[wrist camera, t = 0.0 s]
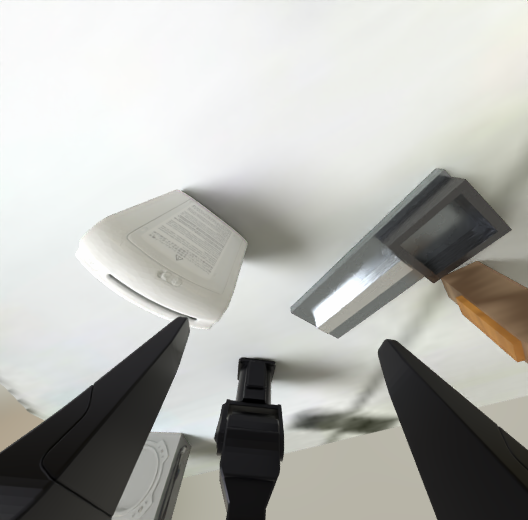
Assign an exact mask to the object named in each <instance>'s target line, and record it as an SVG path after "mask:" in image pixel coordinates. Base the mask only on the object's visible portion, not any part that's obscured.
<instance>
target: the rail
mask: <svg viewBox="0 0 528 520" xmlns="http://www.w3.org/2000/svg"><path fill="white" fill-rule="evenodd" d="M511 230H512V229H511V228H510V227H509V226H508V225H507V224H506V223H505V222H504V221H503V219H502V218H501V217H500V216H499V215H498V214H497V213H496V212H495V211H494V210H493V209H492V207H491V206H490V205H489V204H488V203H487V202H486V201H485V200H484V199H483V198H482V197H481V195H480V194H479V193H478V192H477V191H476V190H475V189H474V188H473V187H472V186H471V185H470V183H469V182H468V181H467V180H466V179H461V178H454V177H451V176H450V175H449V174H448V173H447V172H446V171H445V170H444V169H435V170H434V171H433V172H432V173H431V174H430V175H429V176H428V177H427V178H426V179H425V180H424V181H422V182H421V183H420V184H419V185H418V186H417V187H416V188H415V189H414V190H413V191H412V192H411V193H410V194H409V195H408V196H407V197H406V198H405V199H404V200H403V201H402V202H401V203H399V204H398V205H397V206H396V207H395V208H394V209H393V210H392V211H391V212H390V213H389V214H388V215H387V216H386V217H385V218H384V219H383V220H382V221H381V222H380V223H379V224H377V225H376V226H375V227H374V228H373V229H372V230H371V231H370V232H369V233H368V234H367V235H366V236H365V237H364V238H363V239H362V240H361V241H360V242H359V243H358V244H357V245H356V246H354V247H353V248H352V249H351V250H350V251H349V252H348V253H347V254H346V255H345V256H344V257H343V258H342V259H341V260H340V261H339V262H338V263H337V264H336V265H335V266H334V267H333V268H331V269H330V270H329V271H328V272H327V273H326V274H325V275H324V276H323V277H322V278H321V279H320V280H319V281H318V282H317V283H316V284H315V285H314V286H313V287H312V288H311V289H310V290H308V291H307V292H306V293H305V294H304V295H303V296H302V297H301V298H300V299H299V300H298V301H297V302H296V303H295V304H294V305H293V306H292V307H291V313H292V314H294V315H296V316H298V317H300V318H302V319H303V320H305V321H307V322H309V323H311V324H312V325H314V326H316V327H317V328H318V329H320V330H322V331H324V332H325V333H327V334H331V335H332V336H334V337H336V338H340V337H341V336H342V335H344V334H345V333H347V332H348V331H349V330H351V329H352V328H354V327H355V326H356V325H358V324H359V323H360V322H362V321H363V320H365V319H366V318H367V317H369V316H370V315H372V314H373V313H374V312H376V311H377V310H379V309H380V308H381V307H383V306H384V305H386V304H387V303H388V302H390V301H391V300H392V299H394V298H395V297H397V296H398V295H399V294H401V293H402V292H404V291H405V290H406V289H408V288H409V287H411V286H412V285H413V284H415V283H416V282H417V281H419V280H420V279H422V278H423V277H424V276H425V277H426V278H427V279H429V280H430V281H431V282H432V283H435V282H437V281H438V280H439V279H441V278H442V277H444V276H445V275H447V274H448V273H450V272H451V271H453V270H454V269H455V268H457V267H458V266H460V265H461V264H463V263H464V262H466V261H467V260H469V259H470V258H471V257H473V256H474V255H476V254H477V253H479V252H480V251H482V250H483V249H485V248H486V247H488V246H489V245H490V244H492V243H493V242H495V241H496V240H498V239H499V238H501V237H502V236H504V235H505V234H506V233H508V232H509V231H511Z"/></svg>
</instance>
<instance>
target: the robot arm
mask: <svg viewBox="0 0 528 520" xmlns="http://www.w3.org/2000/svg"><path fill="white" fill-rule="evenodd" d="M189 333H190V327H189V319H188V318H187V317H181V316H179V317H177V318H176V319H174V320H173V321H172V322H171V323H169V324H168V325H167V326H166V327H164V328H163V329H162V330H161V331H159V332H158V333H157V334H156V335H154V336H153V337H152V338H151V339H149V340H148V341H147V342H145V343H144V344H143V345H142V346H140V347H139V348H138V349H137V350H135V351H134V352H133V353H132V354H130V355H129V356H128V357H127V358H125V359H124V360H123V361H122V362H120V363H119V364H118V365H116V366H115V367H114V368H113V369H111V370H110V371H109V372H108V373H106V374H105V375H104V376H103V377H101V378H100V379H99V380H98V381H96V382H95V383H94V385H91V386H90V387H89V388H87V389H86V390H85V391H84V392H82V393H81V394H80V395H79V396H77V397H76V398H75V399H73V400H72V401H71V402H69V403H68V404H67V405H66V406H64V407H63V408H62V409H60V410H59V411H58V412H56V413H55V414H53V415H52V416H51V417H49V418H48V419H47V420H45V421H44V422H42V423H41V424H40V425H38V426H37V427H35V428H34V429H33V430H31V431H30V432H29V433H27V434H26V435H24V436H23V437H21V438H20V439H19V440H17V441H16V442H14V443H13V444H11V445H10V446H8V447H7V448H6V449H4V450H3V451H2V452H0V520H112V516H113V515H114V513H115V510H116V508H117V506H118V504H119V501H120V499H121V497H122V494H123V492H124V490H125V488H126V485H127V483H128V481H129V479H130V476H131V474H132V472H133V470H134V467H135V465H136V463H137V461H138V458H139V456H140V454H141V452H142V449H143V447H144V445H145V442H146V440H147V438H148V436H149V433H150V431H151V429H152V427H153V424H154V422H155V420H156V418H157V415H158V413H159V411H160V409H161V406H162V404H163V402H164V400H165V397H166V395H167V393H168V390H169V388H170V386H171V384H172V381H173V379H174V377H175V375H176V372H177V370H178V367H179V364H180V361H181V358H182V355H183V352H184V349H185V346H186V343H187V340H188V337H189ZM378 357H379V360H380V364H381V367H382V371H383V375H384V378H385V382H386V385H387V388H388V391H389V394H390V397H391V400H392V402H393V405H394V408H395V410H396V413H397V415H398V418H399V421H400V423H401V426H402V428H403V431H404V434H405V436H406V439H407V441H408V444H409V446H410V449H411V452H412V454H413V457H414V460H415V462H416V465H417V468H418V470H419V473H420V475H421V478H422V480H423V483H424V486H425V489H426V491H427V494H428V496H429V499H430V502H431V504H432V507H433V509H434V512H435V515H436V517H437V520H528V450H527V449H526V448H525V447H524V446H522V445H521V444H520V443H519V442H517V441H516V440H515V439H514V438H513V437H511V436H510V435H509V434H508V433H506V432H505V431H504V430H503V429H502V428H500V427H498V426H497V424H496V423H494V422H493V421H492V420H491V419H490V418H489V417H487V416H486V415H485V414H484V413H483V412H481V411H480V410H479V409H478V408H477V407H475V406H474V405H473V404H472V403H471V402H469V401H468V400H467V399H466V398H465V397H463V396H462V395H461V394H460V393H459V392H457V391H456V390H455V389H454V388H453V387H451V386H450V385H449V384H448V383H447V382H445V381H444V380H443V379H442V378H441V377H439V376H438V375H437V374H436V373H435V372H433V371H432V370H431V369H430V368H429V367H427V366H426V365H425V364H424V363H423V362H421V361H420V360H419V359H418V358H417V357H415V356H414V355H413V354H412V353H411V352H409V351H408V350H407V349H406V348H405V347H404V346H402V345H401V344H400V343H399V342H397V341H396V340H391V339H386V340H384V342H383V343H382V345H381V346H380V348H379V350H378ZM274 369H275V362H272V361H262V360H253V359H243V358H241V359H239V365H238V380H239V383H238V389H237V396H236V401H233V400H230V399H227V401H226V403H225V404H223V405H222V409H221V414H220V418H219V422H218V426H217V429H216V433H215V437H214V439H215V441H216V443H217V455H220V456H221V460H220V484H221V489H222V493H223V497H224V502H225V506H226V511H227V518H226V520H265V516H266V514H265V513H266V507H267V504H268V501H269V499H270V496H271V494H272V491H273V489H274V486H275V483H276V481H277V478H278V476H279V473H280V461H282V460H283V455H284V430H283V420H282V409H281V405H279V404H278V405H272V404H271V382H272V378H273V374H274Z"/></svg>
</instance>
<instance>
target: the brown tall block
mask: <svg viewBox="0 0 528 520" xmlns="http://www.w3.org/2000/svg"><path fill="white" fill-rule="evenodd" d="M441 280H442V282H443V285H444V287H445V289H446V292H447V294H448V296H449V298H451V299H452V300H453V301H454V302H455V303H456V304H458V305H459V307H460V310H461V312H462V314H463V315H464V316H465V317H466V318H467V319H469V320H470V321H471V322H472V323H473V324H474V325H475V326H477V327H478V328H479V329H480V330H481V331H482V332H483V333H485V334H486V335H487V336H488V337H489V338H490V339H491V340H493V341H494V342H495V343H496V344H497V345H498V346H499V347H501V348H502V349H503V350H504V351H505V352H506V353H508V354H509V355H510V356H511V357H512V358H513V359H514V360H516V361H517V362H520V361H525V362H527V363H528V288H526V287H524V286H522V285H521V284H519V283H517V282H515V281H513V280H511V279H510V278H508V277H506V276H504V275H502V274H500V273H499V272H497V271H495V270H493V269H491V268H490V267H488V266H486V265H484V264H482V263H480V262H479V261H476V262H474V263H471V264H469V265H467V266H465V267H463V268H460V269H458V270H456V271H454V272H452V273H449V274H447V275H445V276H444V277H442V278H441Z"/></svg>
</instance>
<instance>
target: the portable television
mask: <svg viewBox="0 0 528 520" xmlns="http://www.w3.org/2000/svg"><path fill="white" fill-rule="evenodd" d="M190 449H191V446H190V445H189V443H188V442H187V440H186V439H185V437H184V436H183V434H182V433H167V432H150V433H149V436H148V438H147V440H146V442H145V445H144V447H143V449H142V452H141V454H140V456H139V458H138V461H137V463H136V465H135V467H134V470H133V472H132V474H131V476H130V479H129V481H128V483H127V485H126V488H125V490H124V492H123V494H122V497H121V499H120V501H119V504H118V506H117V508H116V510H115V513H114V515H113V516H112V520H171V518H172V515H173V511H174V507H175V504H176V500H177V496H178V492H179V489H180V485H181V481H182V478H183V475H184V471H185V467H186V464H187V460H188V457H189V453H190Z"/></svg>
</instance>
